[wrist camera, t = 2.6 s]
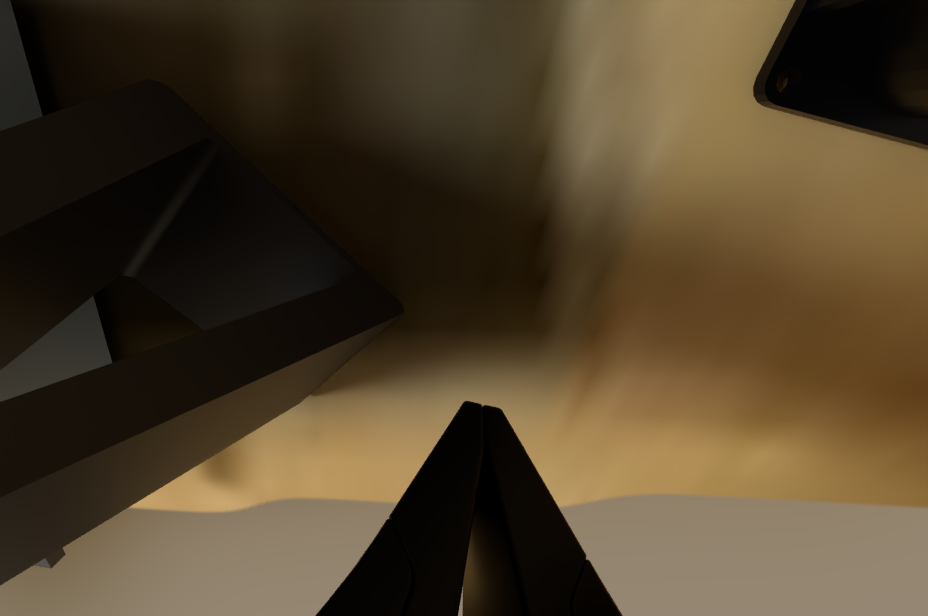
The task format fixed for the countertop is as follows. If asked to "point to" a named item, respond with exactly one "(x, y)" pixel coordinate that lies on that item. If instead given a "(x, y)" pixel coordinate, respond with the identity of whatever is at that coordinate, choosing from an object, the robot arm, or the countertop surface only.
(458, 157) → the countertop surface
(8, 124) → the paddle
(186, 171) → the phone stand
